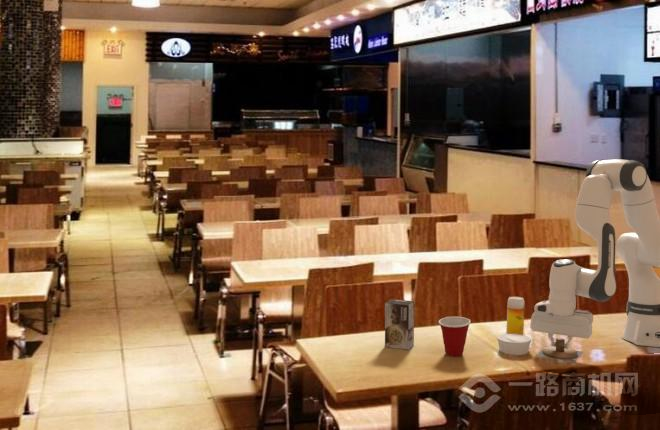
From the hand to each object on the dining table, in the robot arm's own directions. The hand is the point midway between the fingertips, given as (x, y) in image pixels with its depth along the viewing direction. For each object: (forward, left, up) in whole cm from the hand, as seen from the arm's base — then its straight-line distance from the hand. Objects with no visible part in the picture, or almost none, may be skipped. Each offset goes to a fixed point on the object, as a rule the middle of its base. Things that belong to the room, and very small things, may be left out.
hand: (560, 347), depth 262 cm
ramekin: (+15, +5, -3) cm, 16 cm away
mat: (0, 0, -3) cm, 3 cm away
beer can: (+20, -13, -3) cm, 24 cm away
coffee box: (+52, +19, -3) cm, 55 cm away
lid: (0, 0, -2) cm, 2 cm away
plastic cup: (+32, +18, -3) cm, 36 cm away
